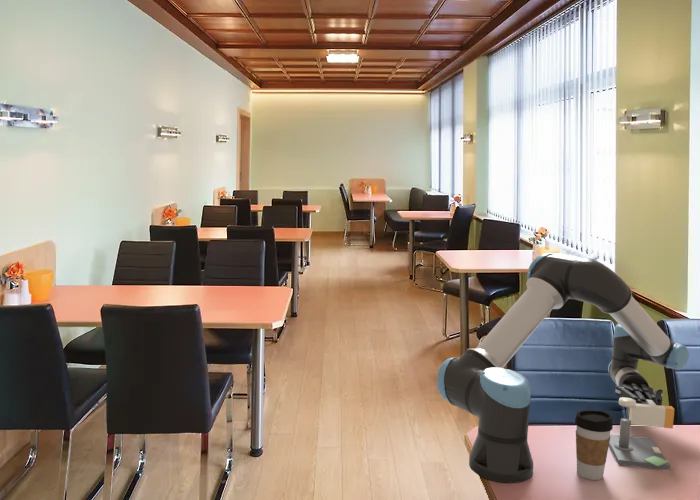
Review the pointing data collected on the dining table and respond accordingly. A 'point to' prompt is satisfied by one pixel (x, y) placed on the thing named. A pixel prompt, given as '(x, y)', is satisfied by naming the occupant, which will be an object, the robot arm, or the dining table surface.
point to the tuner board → (638, 453)
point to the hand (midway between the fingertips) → (655, 413)
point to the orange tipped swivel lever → (643, 418)
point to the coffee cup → (592, 442)
